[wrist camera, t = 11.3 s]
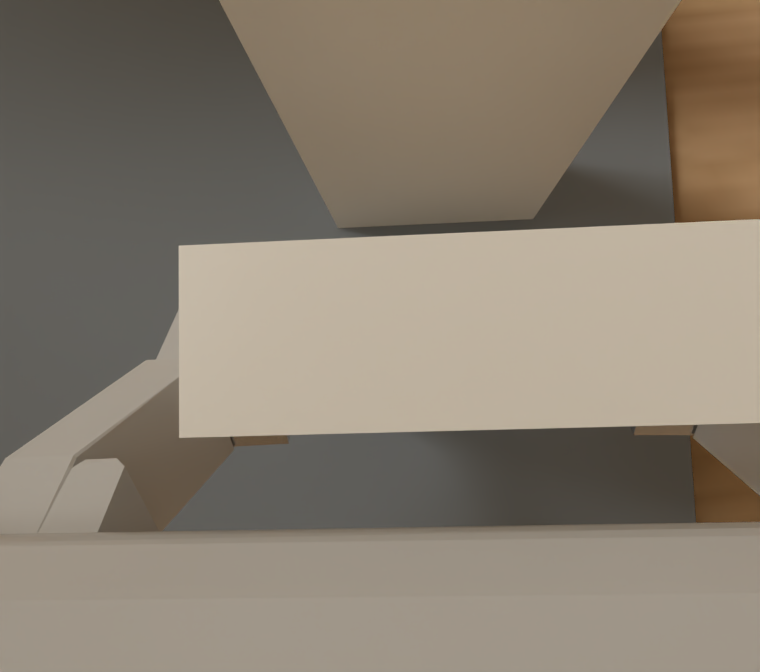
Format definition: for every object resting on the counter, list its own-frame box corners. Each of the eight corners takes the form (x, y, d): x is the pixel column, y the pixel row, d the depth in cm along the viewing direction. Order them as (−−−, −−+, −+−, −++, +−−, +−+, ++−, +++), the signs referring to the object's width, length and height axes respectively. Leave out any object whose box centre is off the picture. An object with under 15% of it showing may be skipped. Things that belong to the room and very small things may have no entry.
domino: (338, 228, 16) (201, -33, 6) (336, 168, 16) (200, -185, 6) (533, 219, 16) (731, -73, 6) (529, 158, 16) (717, -232, 6)
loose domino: (339, 403, 15) (179, 437, 5) (337, 338, 15) (178, 245, 5) (547, 397, 15) (815, 421, 5) (543, 330, 15) (797, 217, 5)
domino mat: (-13, 750, 16) (-24, 760, 15) (15, -557, 19) (7, -577, 19) (705, 756, 15) (713, 766, 14) (608, -635, 18) (613, -658, 17)
